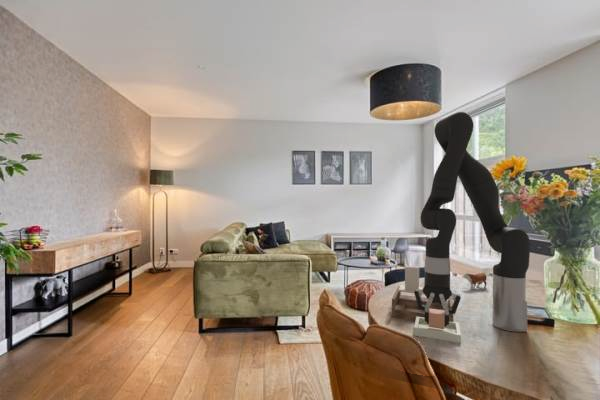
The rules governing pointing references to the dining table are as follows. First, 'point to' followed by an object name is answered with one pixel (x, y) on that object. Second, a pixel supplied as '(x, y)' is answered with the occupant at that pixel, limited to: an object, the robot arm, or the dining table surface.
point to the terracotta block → (436, 318)
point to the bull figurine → (475, 279)
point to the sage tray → (437, 331)
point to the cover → (411, 280)
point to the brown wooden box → (413, 306)
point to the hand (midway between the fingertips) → (436, 324)
